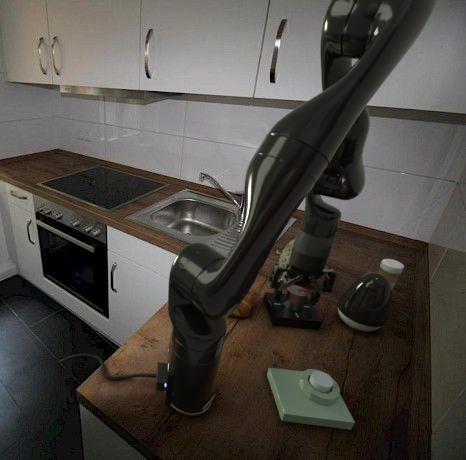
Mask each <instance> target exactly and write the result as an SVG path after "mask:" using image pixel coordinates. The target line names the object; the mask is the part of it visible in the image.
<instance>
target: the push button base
mask: <svg viewBox="0 0 466 460" xmlns="http://www.w3.org/2000/svg"><path fill="white" fill-rule="evenodd" d="M314 371H321V370H319V369H314V368H307V369H305V370H303V371H302V370H292V369H286V368H285V369H284V368H275V367H268V369H267V371H266V376H267V380H268V383H269V387H270V389H271V392H272V395H273V399H274V401H275V406H276V408H277V411H278V414H279V418H280V420H281V421H282V422H287V423H288V422H289V423H294V424H295V423H296V424H304V425H312V426H318V427H325V428H326V427H327V428H328V427H329V428H333V429H342V430H348V431H349V430H350V431H351V430H352V429H353V427H354V425H355V424H356V422H355V420H354V418H353V415H352V414H351V412H350V409H349V408H348V406H347V405H346V402H345V401H344V398H343V397H342V395H341V393H340V392H341V388H340V386H339V385H338V383H337V381H336V380H335V379H334V378H333V377H332V376H331V374H329V373H326V374H327V375H328V376H330V378H331V379H332V381H333V385H332V387H331V389H330V391H329V392H328V393H321V392H319V391H317V390H315V389H314V388H313V387H312V386H311V385H310V383H309V379H310V376H311V374H312V372H314ZM321 372H323V371H321Z"/></svg>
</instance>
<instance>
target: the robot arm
mask: <svg viewBox="0 0 466 460" xmlns="http://www.w3.org/2000/svg"><path fill="white" fill-rule="evenodd" d="M437 2H438V0H331V1H330V3H329V5H328V7H327V9H326V11H325V14H324V17H323V22H322V25H321V31H320V40H319V41H320V43H319V53H320V54H319V57H320V58H319V59H320V78H321V79H320V80H321V92H320V93H318V94H317V95H314V96H313V97H311V98H310V99H308V100H307V101H305V102H304V103H302V104H300V105H298V106H297V107H296V108H294V109H293V110H291V111H290V112H288V113H287V114H285V115H284V116H283V117H281V118H280V119H279V120H277V122H275V123H274V124H273V125H272V127H271V128H270V129H269V131H268V132H267V134H266V135H265V136H264V138H263V140H262V141H261V143H260V145H259V146H258V148H257V149H256V151H255V153H254V154H253V156H252V157H251V160H250V161H249V162H248V165H247V168H246V172H245V175H244V176H245V177H244V190H243V191H244V193H243V217H242V222H241V226H240V229H239V232H238V234H237V237H236V239H235V241H234V243H233V245H232V247H231V248H230V249H229V252H228V253H227V254H225V253H223V252H221V251H220V250H218V249H217V248H215V247H213V246H212V245H210V244H208V243H206V242H202V241H195V242H190V243H188V244H186V245H185V246H184V247H183V248H181V250H180V251H179V252H178V253H177V254H176V256H175V257H174V260H173V262H172V264H171V267H170V271H169V276H168V293H167V314H168V318H169V320H170V334H169V342H168V346H167V350H166V361H165V362H161V361H158V362H157V364H156V373H147V372H135V373H129V374H122V375H117V376H113V375H109V374H108V373H107V370H106V368H105V363H104V360H103V359H102V358H101V357H99V356H97V355H95V354H92V353H75V354H72V355H69V356H66V357H64V358H62V359H61V360H59V363H60V364H64V363H66V362H67V361H70V360H73V359H79V358H90V359H94V360H96V361H98V362H99V364H100V369H101V373H102V375H103V376H104V378H106V379H107V380H110V381H119V380H125V379H133V378H154V379H155V378H156V379H155V381H156V383H155V391H159V392H163V395H164V396H163V397H164V398H163V405H164V406H165V407H170V408H171V410H173V411H174V412H175V413H177V414H179V415H181V416H183V417H187V418H199V417H201V416H203V415H205V414H206V413H208V412H209V410H210V408H211V407H212V403H213V400H214V399H215V398H216V394H214V391H215V386H216V381H217V377H218V372H219V368H220V363H221V358H222V355H223V348H224V344H225V340H226V335H227V322H226V318H228V317H230V316H229V315H230V314H231V313H233V312H234V311H235V310H236V309H237V307H238V306H239V305H240V304H241V303H242V301H243V300H244V298H245V297H246V295H247V294H248V292H250V290H251V289H252V287H253V285H254V283H255V282H256V280H257V278H258V276H259V274H260V272H261V270H262V268H263V267H264V265H265V263H266V261H267V259H268V257H269V256H270V254H271V252H272V251H273V248H274V246H275V245H276V243H277V242H278V239H279V238H280V236H281V235H282V233H283V232H284V231H285V228H287V226H288V224H289V222H290V221H291V219H292V218H293V216H294V215H295V213H296V212H297V210H298V209H299V207H300V206H301V204H302V203H303V201H304V200H305V203H304V212H303V214H302V215H303V216H302V220H301V222H300V226H299V229H298V230H297V233H296V235H295V238H294V239H295V241H294V245H293V248H292V252H291V255H290V259H289V263H288V265H287V266H286V267H284V266H279V263H274V264H273V266H272V268H271V271H270V275H269V277H268V280H267V282H268V284H269V286H270V289H273V292H272V293H273V297H274V299H275V300H276V302H280V299H281V296H282V294H283V292H284V290H285V289H287V288H288V287H290V286H292V285H296V286H300V285H304V286H309V285H311V284H312V287H313V288H312V289H311V291H310V294H309V297H308V298H309V302H310V304H311V305H313V306H316V304H318V303H319V300H320V299H321V295H323V294H324V293H327V294H331V293H332V291H333V289H334V285H335V282H336V279H337V273H336V271H335V270H334V269H333V267H327V268H326V265H327V262H328V259H329V257H330V254H331V251H332V248H333V246H334V243H335V237H336V233H337V231H338V228H339V225H340V222H341V218H342V211H341V210H340V209H339V208H337V207H335V206H334V205H331V204H329V203H328V202H326V201H324V199H323V198H322V197H327V198H332V199H335V200H340V201H351V200H353V199H356V198H357V197H358V196H359V195H360V194H361V193H363V190H364V188H365V185H366V169H365V166H364V159H363V153H364V150H365V145H366V142H367V139H368V136H369V133H370V132H369V131H370V127H371V121H370V120H371V119H370V113H369V109H368V107H367V105H368V104H369V102H370V101H371V100H372V99H373V97H374V96H375V94H376V93H377V92H378V91H379V90H380V88H381V87H382V85H384V83H385V82H386V80H387V79H388V78H389V77H390V75H391V74H392V72H393V71H394V70H395V69H396V67H397V66H398V65H399V63H400V62H401V61H402V60H403V58H404V57H405V55H406V54H407V53H408V52H409V50H410V49H411V48H412V46H413V45H414V44H415V42H416V41H417V39H418V38H419V37H420V35H421V33H422V32H423V30H424V29H425V27H426V25H427V23H428V22H429V20H430V18H431V16H432V14H433V12H434V9H435V8H436V5H437ZM353 60H356V62H355V63H354V64H353ZM325 268H326V269H325ZM283 272H286V273H285V274H284V275H283ZM322 277H323V281H322V284H319V282H318V280H319V279H321V278H322ZM288 278H290V280H288Z"/></svg>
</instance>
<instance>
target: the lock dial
mask: <svg viewBox="0 0 466 460" xmlns="http://www.w3.org/2000/svg"><path fill="white" fill-rule="evenodd" d="M307 291H308V290H307V289H305V288H303V287H302V286H300V285H297V284H293V285H292V286H290V287H286V291H285V293H284V294H285V297H284V301H283V305H284V307H286V308H287V309H289V310H291V311H300V310H301V309H302V306H303V303H304V300H305V297H306V296H307V294H308V293H307Z"/></svg>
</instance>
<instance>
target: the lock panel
mask: <svg viewBox="0 0 466 460" xmlns="http://www.w3.org/2000/svg"><path fill="white" fill-rule="evenodd" d="M285 294H286V293H282V296H281V299H280V302H276V300H275V299H274V297H273V292H269V291H267V292H266V291H264V294H263V297H262V302H263V305H264V308H265V310H266V313H267V314H268V317H269V320H270V322H271V325H272V327H279V328H290V329H291V328H292V329H299V330H310V331H320V330H321V326H322V324H323V320H322V318H321V317H320V314H319V313H318V311H317V310H316V308H315V307H314V305H311V304H310V302H309V297H308V295H306V297H305V300H304V303H303V306H302V309H301V310H300V311H291V310H289V309H287V308H286V307H284V305H283V301H284V297H285Z"/></svg>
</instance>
